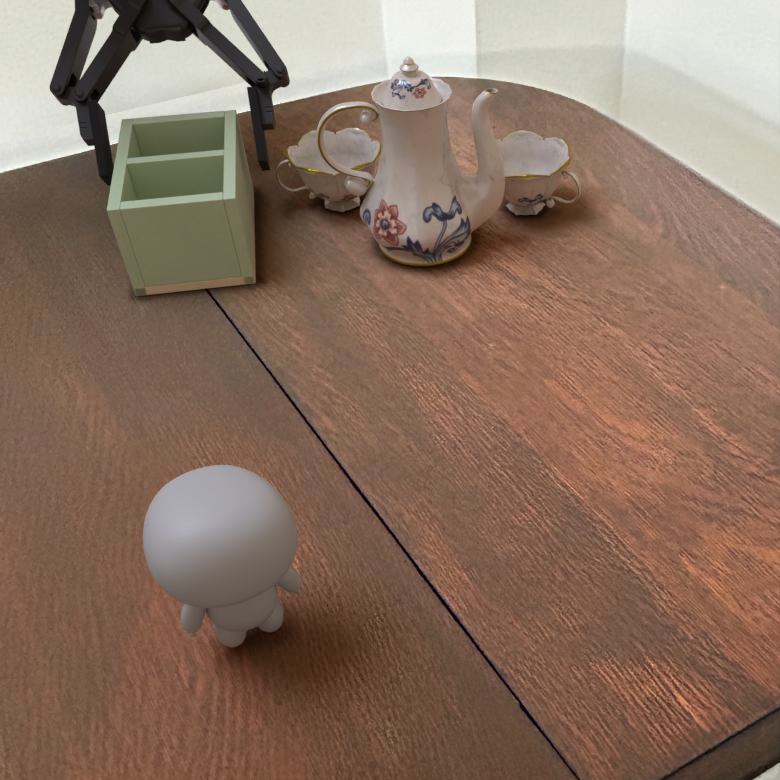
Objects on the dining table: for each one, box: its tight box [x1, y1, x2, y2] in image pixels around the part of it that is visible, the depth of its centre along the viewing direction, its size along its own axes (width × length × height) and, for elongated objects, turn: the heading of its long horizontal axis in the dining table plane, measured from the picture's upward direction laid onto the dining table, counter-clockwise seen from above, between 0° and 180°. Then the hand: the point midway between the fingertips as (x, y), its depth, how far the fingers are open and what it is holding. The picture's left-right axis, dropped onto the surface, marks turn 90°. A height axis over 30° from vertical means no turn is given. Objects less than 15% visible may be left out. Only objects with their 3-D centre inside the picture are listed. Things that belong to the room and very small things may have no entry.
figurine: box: [142, 464, 302, 648], centre depth 58 cm, size 8×8×12 cm
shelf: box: [106, 109, 257, 297], centre depth 90 cm, size 16×10×8 cm, turn 11°
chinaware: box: [275, 56, 582, 268], centre depth 89 cm, size 28×17×17 cm, turn 93°
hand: (186, 173), depth 91 cm, fingers open, 13 cm apart
